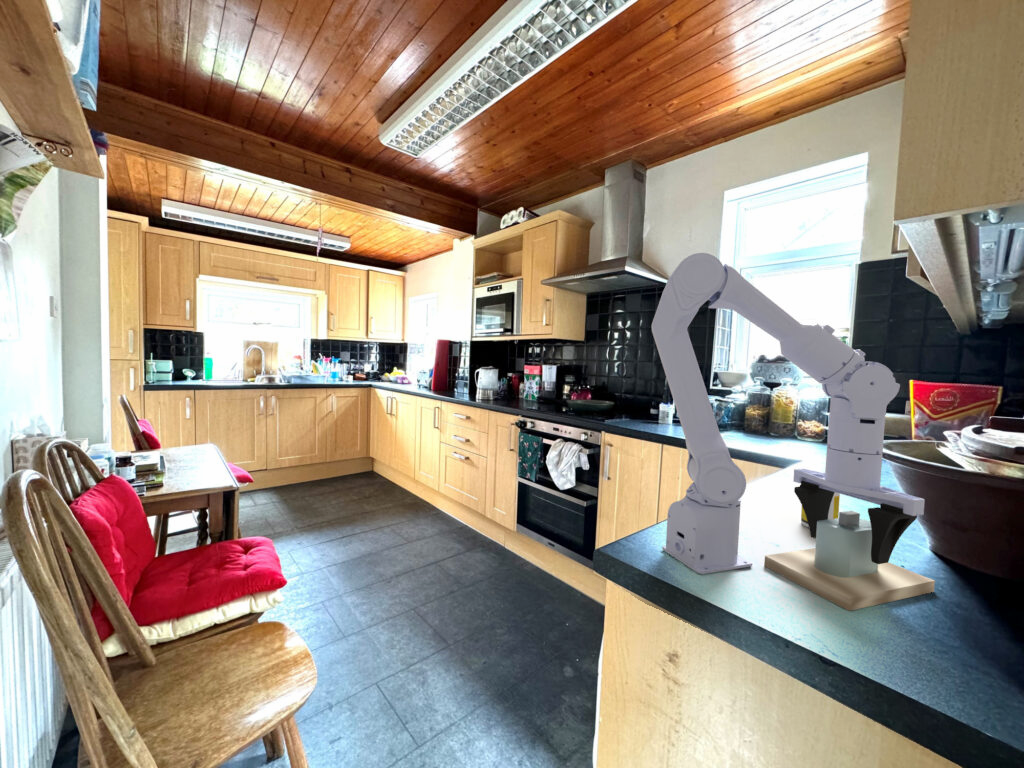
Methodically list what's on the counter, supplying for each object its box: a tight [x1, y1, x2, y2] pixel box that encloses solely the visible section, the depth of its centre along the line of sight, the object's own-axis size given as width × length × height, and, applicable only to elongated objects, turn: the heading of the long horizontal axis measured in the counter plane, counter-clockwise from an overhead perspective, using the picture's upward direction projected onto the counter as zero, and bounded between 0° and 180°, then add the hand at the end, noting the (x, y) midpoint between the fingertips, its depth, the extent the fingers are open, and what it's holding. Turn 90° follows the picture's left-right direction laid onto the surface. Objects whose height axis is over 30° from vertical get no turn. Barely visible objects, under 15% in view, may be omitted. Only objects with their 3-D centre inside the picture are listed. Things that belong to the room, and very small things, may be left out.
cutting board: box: [763, 547, 936, 612], centre depth 55 cm, size 16×11×2 cm
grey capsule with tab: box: [814, 510, 878, 577], centre depth 54 cm, size 9×4×8 cm, turn 107°
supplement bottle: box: [800, 471, 841, 528], centre depth 73 cm, size 5×5×10 cm
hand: (846, 548), depth 54 cm, fingers open, 7 cm apart
